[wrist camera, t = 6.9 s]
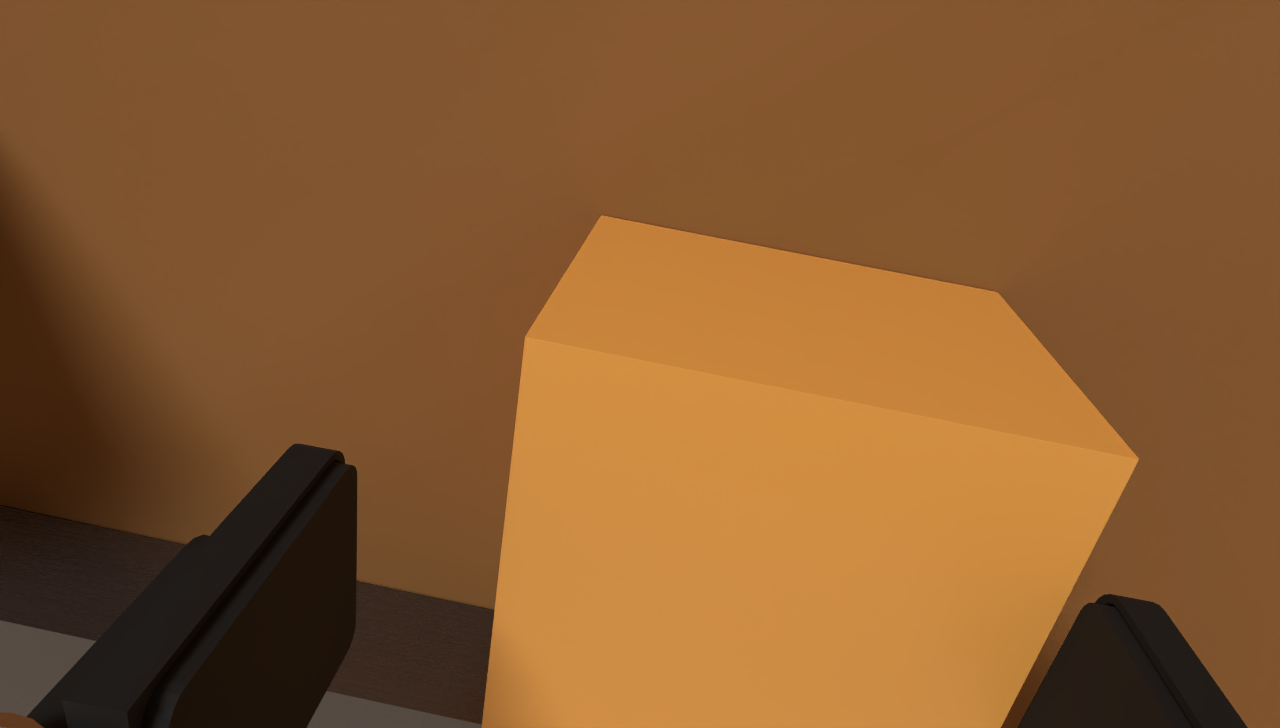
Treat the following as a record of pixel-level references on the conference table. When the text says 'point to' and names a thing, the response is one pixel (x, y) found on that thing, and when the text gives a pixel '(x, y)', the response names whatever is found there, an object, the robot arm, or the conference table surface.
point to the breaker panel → (127, 563)
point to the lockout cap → (784, 495)
